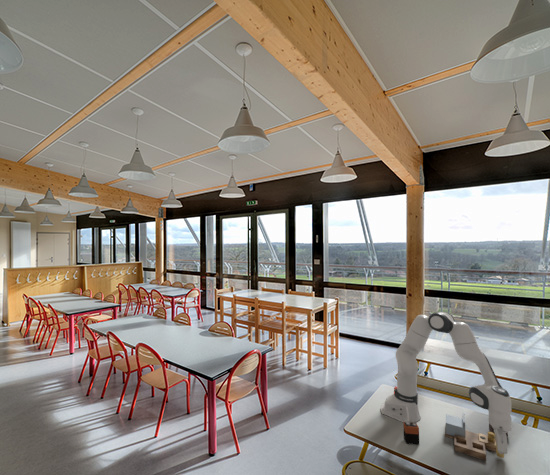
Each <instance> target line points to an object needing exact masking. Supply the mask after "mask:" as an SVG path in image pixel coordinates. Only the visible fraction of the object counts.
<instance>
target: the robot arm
mask: <svg viewBox="0 0 550 475" xmlns="http://www.w3.org/2000/svg"><path fill="white" fill-rule="evenodd" d="M432 331H435V332H438V333H443V334H444V333H445V334H448V335H450V337H451V341H452V343H453V347H454V350H455V353H456V354H457V356H458V357H460V358H462V359H463V360H464V361H468V362H471V363H473V364H475V366H476V367H477V368H478V369H479V372H480V374H481V376H482V378H483V381H484V384H478V385H473V386H470V387H469V389H468V396H469V398H470V401H471V402H472V403H473V404H474V405H475V406H477V407H479V408H481V409H484V410H487V411H488V425H489V424H490V425H491V426H492V428H493V429H494V433H495V439H496V445H497V450H498V453H500V454H503V453H504V455H506V454H508V438H507V437H508V436H506V433H507V432H508V433H509V432H510V431H512V428H513V427H512V416H511V414H512V399H511V396H510V393H509V392H508V391H507V390H506V388H503V387H502V385H501V383H500V381H499V380H498V378H497V376H496V374H495V371H494V370H493V368H492V365H491V363H490V361H489V359H488V358H487V356H486V354H484V353H483V352H482V350H481V349H480V347H479V345H478V342H477V339H476V337H475V335H474V332H473V331H472V328H471V327H470V325H469V324H468V323H465V322H462V321H456V320H455V318H454V316H453V315H452V314H451V313H449V312H446V311H436V312H433V313H431V314H430V315H429V316H428V315H426V314H418V315H416V317H415V318H414V319H413V321H412V323H411V325H410V326H409V329H408V330H407V333H406V335H405V338H404V339H403V341H402V342H401V344H400V345H399V347H398V348H397V349H396V351H395V359H396V363H397V364H396V365H397V376H396V386H394V388H393V389H394V390H393V394H391V395H388V396H387V397H386V398H385V399H384V400H385V401H384V402H383V403H382V404H381V406H380V412H381V414H382V415H385V416H387V417H389V418H392V419H394V420H397V421H399V422H402V423H404V422H410V423H416V422H419V421H420V420H421V414H420V411H419V405H418V404H419V394H418V386H417V385H418V382H417V379H418V374H419V372H418V371H419V370H418V369H419V363H418V361H417V356H418V354H419V353H420V352H421V351H422V350H424V349H425V346H426V344H427V342H428V340H429V337H430V335H431V333H432Z"/></svg>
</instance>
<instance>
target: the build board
mask: <svg viewBox="0 0 550 475" xmlns="http://www.w3.org/2000/svg"><path fill="white" fill-rule="evenodd" d="M453 440H454V441H453V442H454V445H453V446H454V451H455V452H458V453H460V454H461V453H462V454H464V455H467V456H471V457H474V458H477V459H480V460H483V461H487V452H486V450H487V449H485V444H484V443H482V442H479V441H476V440H472V439H469V438H466V437H462V436H459V435H456V434H454V439H453Z"/></svg>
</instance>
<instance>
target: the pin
mask: <svg viewBox="0 0 550 475" xmlns="http://www.w3.org/2000/svg"><path fill="white" fill-rule="evenodd" d="M495 454H496V456H497V457H498V458H502V459H504V457H505V453H503V454H500V453H498V450H497V445H496V452H495Z"/></svg>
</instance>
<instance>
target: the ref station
mask: <svg viewBox="0 0 550 475" xmlns="http://www.w3.org/2000/svg"><path fill="white" fill-rule="evenodd" d="M465 435H466V438H469V439H472V440H476V441H479V442H482V443H484V444H485V450H489V451H492V452H495V453H496V439H495V434H494V433H492V432H491V431H487V434H484V433H481V432H478V433H477V432H472V431H469V430H466V429H465ZM444 437H447V438H449V439H453V440H454V436H452V435H448V434H446V424H445V425H444Z"/></svg>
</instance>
